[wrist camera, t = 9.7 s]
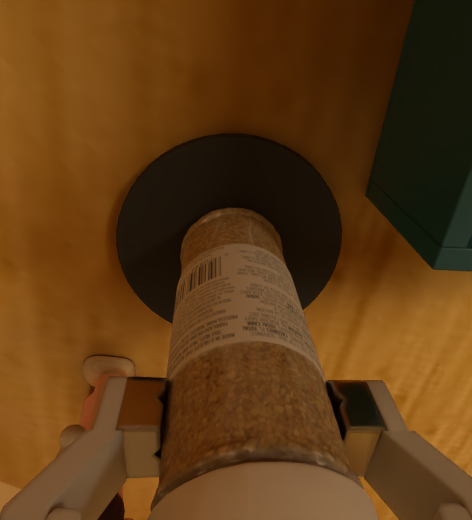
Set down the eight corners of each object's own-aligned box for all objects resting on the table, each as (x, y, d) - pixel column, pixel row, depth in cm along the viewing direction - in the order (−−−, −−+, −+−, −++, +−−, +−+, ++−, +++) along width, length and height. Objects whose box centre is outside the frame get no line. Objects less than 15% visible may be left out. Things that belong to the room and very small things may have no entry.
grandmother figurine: (49, 354, 21) (-120, 707, 10) (114, 330, 21) (8, 676, 10) (124, 439, 25) (59, 764, 14) (181, 420, 24) (159, 744, 13)
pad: (110, 124, 16) (107, 127, 15) (361, 141, 16) (365, 145, 16) (124, 327, 21) (123, 334, 20) (317, 332, 21) (319, 338, 21)
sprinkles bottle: (215, 306, 20) (224, 717, 8) (159, 235, 18) (62, 651, 6) (300, 263, 19) (448, 658, 7) (252, 182, 17) (352, 556, 5)
